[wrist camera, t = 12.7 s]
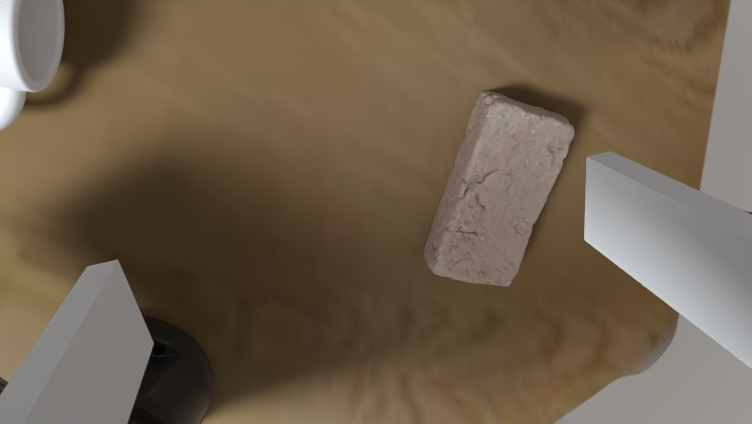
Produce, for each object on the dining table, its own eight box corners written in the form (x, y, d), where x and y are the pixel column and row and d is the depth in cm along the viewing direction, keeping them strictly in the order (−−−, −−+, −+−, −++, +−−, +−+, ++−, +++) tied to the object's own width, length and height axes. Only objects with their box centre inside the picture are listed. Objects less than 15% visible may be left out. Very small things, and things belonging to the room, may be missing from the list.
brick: (476, 87, 43) (498, 97, 39) (557, 111, 45) (586, 123, 41) (416, 253, 48) (430, 278, 44) (491, 267, 51) (511, 292, 47)
